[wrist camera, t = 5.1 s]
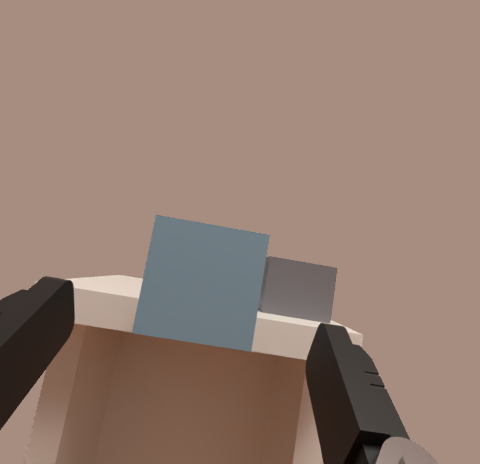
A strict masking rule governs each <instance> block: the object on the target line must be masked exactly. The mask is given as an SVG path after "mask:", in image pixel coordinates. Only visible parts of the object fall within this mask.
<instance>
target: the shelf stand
mask: <svg viewBox="0 0 480 464" xmlns="http://www.w3.org/2000/svg"><path fill="white" fill-rule="evenodd" d="M65 280H71V281H72V282H73V285H74V310H75V322H74V327H73V330H72V333H71V335H70V337H69V339H68V340H67V341H66V343H65V344H64V345H63V347H62V348H61V350H60V351H59V352H58V354H57V355H56V356H55V358H54V359H53V360H52V362H51V363H50V364H49V366H48V367H47V368H46V372H45V376H44V381H43V385H42V389H41V393H40V398H39V401H38V406H37V410H36V414H35V418H34V423H33V427H32V431H31V435H30V440H29V444H28V448H27V452H26V456H25V461H24V464H321V457H322V453H321V448H320V443H319V438H318V433H317V429H316V424H315V419H314V414H313V409H312V405H311V400H310V395H309V390H308V385H307V380H306V374H305V367H306V359H307V356H308V353H309V350H310V347H311V345H312V342H313V339H314V336H315V333H316V331H317V328H318V326H319V324H320V323H323V322H317V321H311V320H305V319H299V318H292V317H286V316H280V315H274V314H268V313H262V312H261V311H260V310H259V309H258V312H257V319H256V325H255V331H254V338H253V344H252V350H251V352H249V351H242V350H236V349H230V348H223V347H217V346H211V345H204V344H198V343H192V342H185V341H179V340H173V339H166V338H160V337H153V336H147V335H141V334H134V333H132V329H133V325H134V320H135V315H136V310H137V305H138V300H139V295H140V291H141V286H142V281H143V279H141V278H135V277H129V276H123V275H112V276H99V277H86V278H73V279H65ZM37 282H38V281H35V283H34V284H36V283H37ZM326 324H329V323H326ZM330 324H333V325H339V326H343V325H341V324H338V323H336V322H334V321H332V320H331V321H330ZM344 327H345V326H344ZM345 328H346V330H347V332H348V334H349V336H350V339H351V341H352V343H353V344H355V345H360V346H361V347H362V341H363V335H362V334H360V333H358V332H356V331H354V330H351V329H349V328H347V327H345Z"/></svg>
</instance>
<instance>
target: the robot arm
mask: <svg viewBox="0 0 480 464" xmlns="http://www.w3.org/2000/svg"><path fill="white" fill-rule="evenodd" d="M74 322H75V310H74V285H73V282H72V281H71V280H65V279H59V278H53V277H47V276H46V277H43V278H42V279H40V280H39V281H38V282H37V283H36V284H34V285H33V286H32V287H31V288H30V289H29V290H20V291H18V292H16V293H14V294H11V295H9V296H7V297H5V298H3V299H2V300H0V430H1V428H2V427H3V426H4V424H5V423H6V422H7V420H8V419H9V418H10V416H11V415H12V414H13V412H14V411H15V410H16V408H17V406H19V404H20V403H21V401H22V400H23V399H24V398H25V396H26V395H27V394H28V392H29V391H30V389H31V388H32V387H33V386H34V384H35V383H36V382H37V380H38V378H40V376H41V375H42V374H43V372H44V371H45V370H46V368H47V367H48V366H49V364H50V363H51V362H52V360H53V359H54V358H55V356H56V355H57V354H58V352H59V351H60V350H61V348H62V347H63V345H64V344H65V343H66V341H67V340H68V339H69V337H70V335H71V333H72V330H73V327H74ZM305 374H306V380H307V385H308V390H309V395H310V400H311V405H312V409H313V414H314V419H315V424H316V429H317V433H318V438H319V443H320V448H321V453H322V458H323V462H324V464H438V462H437V461H436V460H435V459H434V458H433V457H432V456H431V454H429V453H428V452H427V451H426V450H425V449H424V448H422V447H421V446H420V445H418V444H416V443H415V442H413V441H411V440H410V438H409V436H408V434H407V432H406V430H405V428H404V426H403V424H402V421H401V420H400V417H399V415H398V413H397V411H396V409H395V407H394V405H393V403H392V400H391V398H390V396H389V394H388V392H387V390H386V389H384V384H383V382H382V379H381V378H380V376H378V374H379V373H378V371H377V369H376V367H375V365H374V363H373V361H372V359H371V358H370V356H369V355H368V354H367V353H366V352H365V351H364V350H363V349H362V347H361V346H360V345H355V344H353V343H352V341H351V339H350V336H349V334H348V332H347V330H346V328H345V327H344V326H339V325H333V324H326V323H320V324H319V326H318V328H317V331H316V333H315V336H314V339H313V342H312V345H311V347H310V350H309V353H308V356H307V359H306V367H305Z"/></svg>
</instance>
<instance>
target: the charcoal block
mask: <svg viewBox="0 0 480 464" xmlns="http://www.w3.org/2000/svg"><path fill="white" fill-rule="evenodd" d="M336 274H337V268H334V267H328V266H323V265H316V264H311V263H305V262H300V261H294V260H288V259H282V258H277V257H271V256H270V257H266V262H265V268H264V274H263V281H262V287H261V293H260V300H259V306H258V309H259V310H260V311H261V312H262V313H268V314H274V315H280V316H286V317H292V318H299V319H305V320H311V321H317V322H323V323H329V324H330V321H331V313H332V305H333V298H334V290H335V282H336Z"/></svg>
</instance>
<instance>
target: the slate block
mask: <svg viewBox="0 0 480 464" xmlns="http://www.w3.org/2000/svg"><path fill="white" fill-rule="evenodd" d="M269 236H270V235H267V234H261V233H255V232H250V231H244V230H238V229H233V228H227V227H222V226H216V225H210V224H205V223H199V222H194V221H188V220H182V219H176V218H171V217H165V216H160V215H156V218H155V223H154V228H153V233H152V237H151V242H150V247H149V252H148V257H147V262H146V266H145V271H144V276H143V281H142V286H141V291H140V295H139V300H138V305H137V310H136V315H135V320H134V325H133V329H132V333H134V334H141V335H147V336H153V337H160V338H166V339H173V340H179V341H185V342H192V343H198V344H204V345H211V346H217V347H223V348H230V349H236V350H242V351H249V352H251V350H252V344H253V338H254V331H255V325H256V319H257V312H258V306H259V300H260V293H261V287H262V281H263V274H264V268H265V262H266V255H267V249H268V243H269Z"/></svg>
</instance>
